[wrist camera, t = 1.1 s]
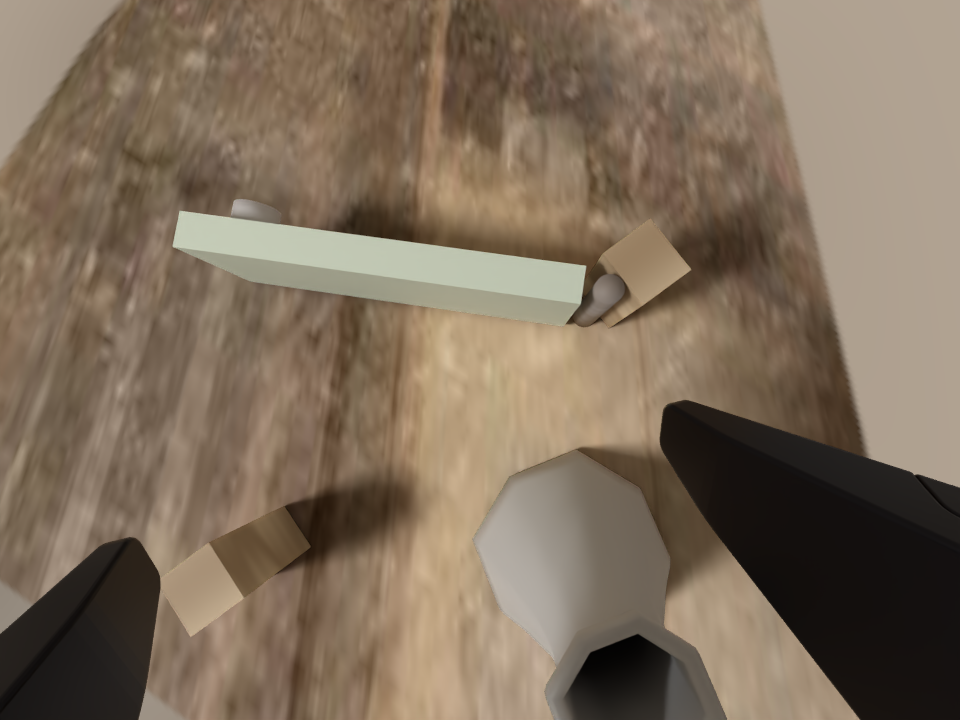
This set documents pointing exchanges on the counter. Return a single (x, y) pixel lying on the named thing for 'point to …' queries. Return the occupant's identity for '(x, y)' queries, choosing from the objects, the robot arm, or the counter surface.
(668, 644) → the flask
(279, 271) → the door
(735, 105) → the counter surface
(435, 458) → the counter surface
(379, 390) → the counter surface
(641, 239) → the door frame
